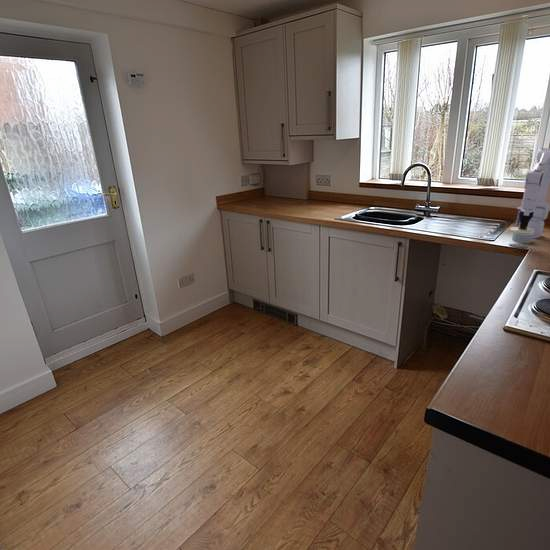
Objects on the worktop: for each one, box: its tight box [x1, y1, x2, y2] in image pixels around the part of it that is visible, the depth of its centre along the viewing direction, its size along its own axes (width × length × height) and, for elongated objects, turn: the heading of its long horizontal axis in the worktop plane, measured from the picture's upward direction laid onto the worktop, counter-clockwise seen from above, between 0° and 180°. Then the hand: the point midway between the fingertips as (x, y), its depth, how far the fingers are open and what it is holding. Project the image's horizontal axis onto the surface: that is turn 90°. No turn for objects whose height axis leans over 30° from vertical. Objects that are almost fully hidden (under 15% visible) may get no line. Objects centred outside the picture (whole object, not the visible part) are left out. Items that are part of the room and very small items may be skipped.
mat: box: [508, 243, 529, 250], centre depth 178 cm, size 8×8×1 cm
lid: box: [509, 223, 535, 234], centre depth 175 cm, size 10×10×4 cm
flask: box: [514, 210, 521, 227], centre depth 209 cm, size 9×3×11 cm, turn 48°
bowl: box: [511, 232, 533, 244], centre depth 185 cm, size 8×8×4 cm
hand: (522, 227), depth 175 cm, fingers closed on lid, 4 cm apart
